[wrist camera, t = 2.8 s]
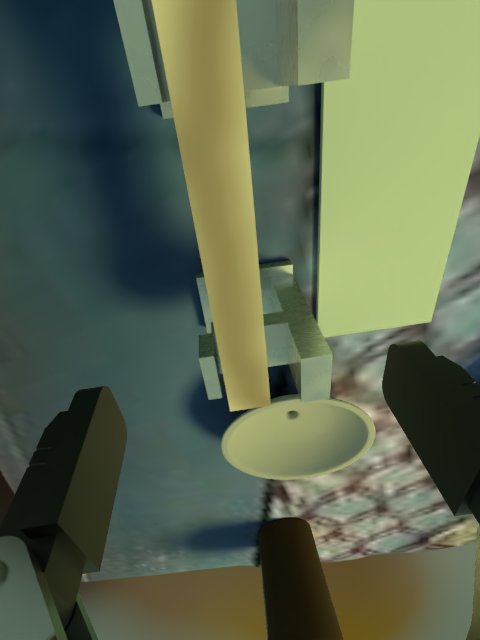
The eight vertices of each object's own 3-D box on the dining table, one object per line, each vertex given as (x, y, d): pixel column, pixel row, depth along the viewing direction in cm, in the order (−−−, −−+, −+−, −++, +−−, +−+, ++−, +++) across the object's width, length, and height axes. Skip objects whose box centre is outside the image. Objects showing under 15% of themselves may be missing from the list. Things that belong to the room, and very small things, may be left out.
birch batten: (223, -59, 13) (227, -94, 11) (264, 376, 27) (270, 405, 24) (147, -50, 13) (135, -82, 11) (227, 382, 27) (230, 411, 24)
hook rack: (282, -18, 20) (361, -125, 10) (291, 314, 34) (329, 408, 24) (140, 0, 20) (80, -90, 10) (207, 327, 33) (210, 426, 24)
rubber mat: (540, -127, 19) (549, -134, 18) (427, 318, 36) (430, 321, 35) (325, -101, 18) (329, -106, 18) (315, 335, 35) (317, 338, 35)
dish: (210, 442, 44) (211, 478, 40) (230, 358, 36) (234, 392, 32) (335, 447, 47) (348, 481, 43) (378, 371, 39) (398, 404, 35)
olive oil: (295, 508, 56) (351, 753, 35) (323, 530, 61) (385, 753, 41) (242, 531, 58) (265, 771, 38) (273, 549, 64) (308, 768, 43)
